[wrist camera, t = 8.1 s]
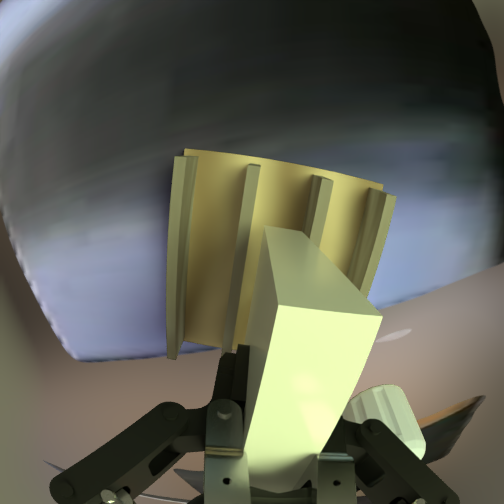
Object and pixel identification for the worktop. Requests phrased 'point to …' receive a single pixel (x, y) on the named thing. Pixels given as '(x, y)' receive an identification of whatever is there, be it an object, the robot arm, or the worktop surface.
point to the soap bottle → (387, 414)
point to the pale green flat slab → (299, 356)
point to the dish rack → (257, 235)
